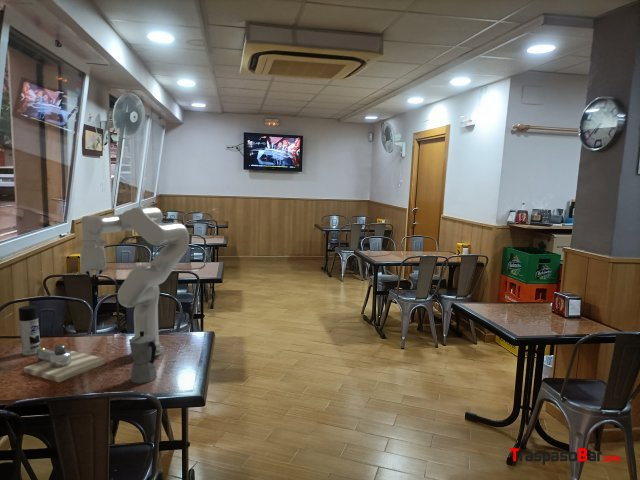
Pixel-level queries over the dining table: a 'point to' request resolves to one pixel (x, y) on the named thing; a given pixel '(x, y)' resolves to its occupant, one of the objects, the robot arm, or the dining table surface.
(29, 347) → the spray can
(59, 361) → the crank
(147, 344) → the coffeepot
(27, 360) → the dining table surface
